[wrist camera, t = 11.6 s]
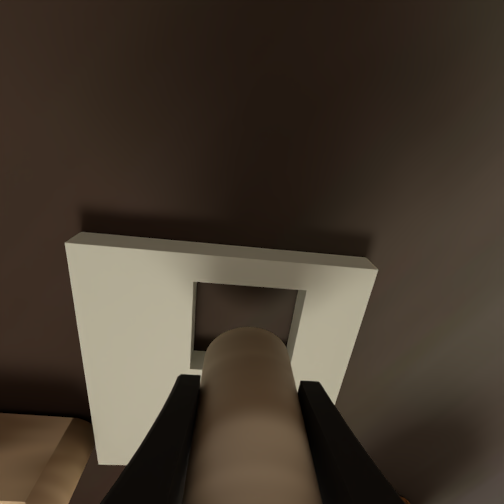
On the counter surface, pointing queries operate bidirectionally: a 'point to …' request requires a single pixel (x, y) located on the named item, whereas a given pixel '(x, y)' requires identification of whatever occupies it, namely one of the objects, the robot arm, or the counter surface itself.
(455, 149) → the counter surface
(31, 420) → the hinged leg
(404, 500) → the disposable coffee cup
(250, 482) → the loose leg
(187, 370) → the stool seat
